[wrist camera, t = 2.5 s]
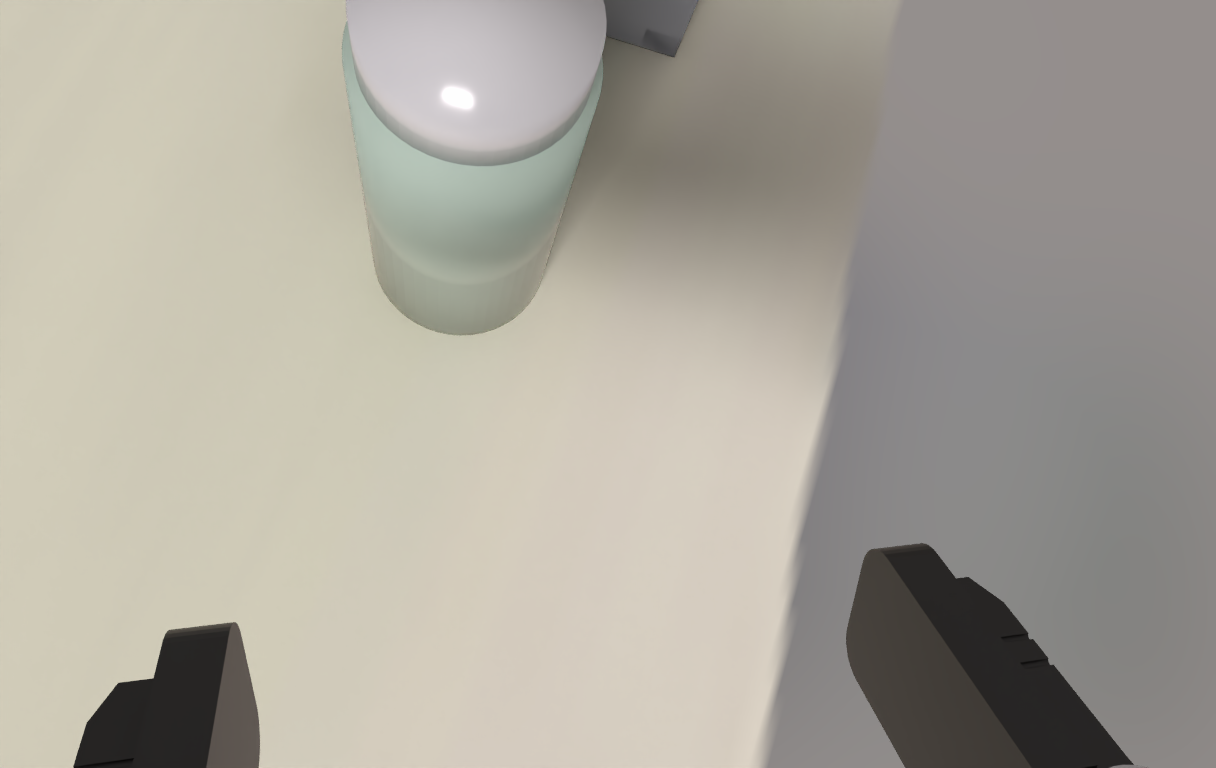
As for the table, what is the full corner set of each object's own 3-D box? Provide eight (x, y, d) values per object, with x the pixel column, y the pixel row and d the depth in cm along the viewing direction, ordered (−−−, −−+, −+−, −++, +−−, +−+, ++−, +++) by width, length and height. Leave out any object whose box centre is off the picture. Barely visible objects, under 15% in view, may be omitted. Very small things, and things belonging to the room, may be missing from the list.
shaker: (351, 308, 28) (296, 87, 16) (400, 156, 29) (381, -143, 18) (521, 354, 29) (582, 172, 17) (561, 203, 30) (642, -58, 19)
